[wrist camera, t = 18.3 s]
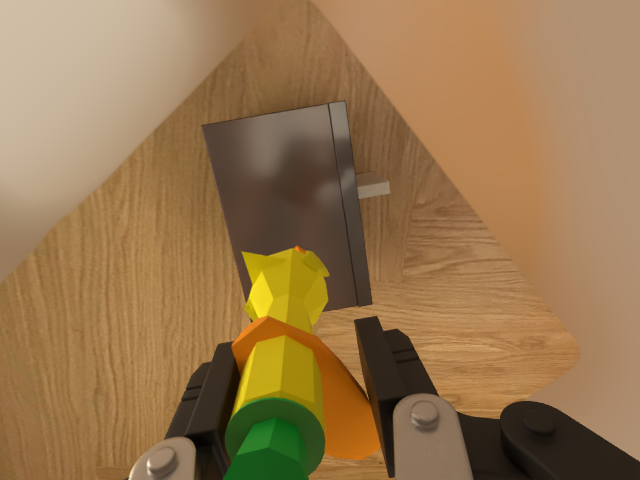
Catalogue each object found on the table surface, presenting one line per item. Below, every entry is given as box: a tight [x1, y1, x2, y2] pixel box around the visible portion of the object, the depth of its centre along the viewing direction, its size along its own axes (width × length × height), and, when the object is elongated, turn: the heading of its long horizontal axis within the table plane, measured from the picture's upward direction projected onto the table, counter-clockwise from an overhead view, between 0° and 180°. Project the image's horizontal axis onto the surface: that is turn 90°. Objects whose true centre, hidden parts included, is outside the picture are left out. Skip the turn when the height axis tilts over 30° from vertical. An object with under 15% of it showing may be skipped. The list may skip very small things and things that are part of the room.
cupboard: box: [201, 100, 373, 323], centre depth 32 cm, size 10×16×10 cm, turn 9°
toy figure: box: [223, 245, 381, 480], centre depth 13 cm, size 7×4×12 cm, turn 40°
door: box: [355, 172, 390, 199], centre depth 31 cm, size 4×8×8 cm, turn 9°
